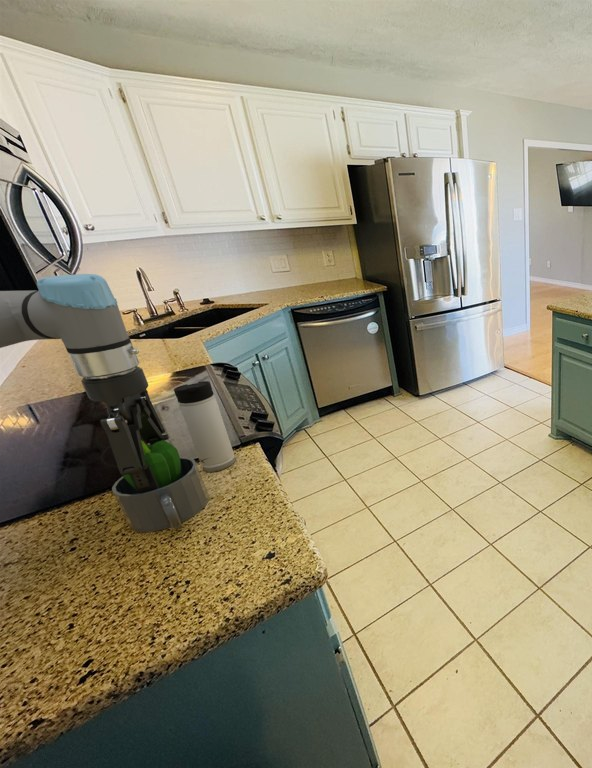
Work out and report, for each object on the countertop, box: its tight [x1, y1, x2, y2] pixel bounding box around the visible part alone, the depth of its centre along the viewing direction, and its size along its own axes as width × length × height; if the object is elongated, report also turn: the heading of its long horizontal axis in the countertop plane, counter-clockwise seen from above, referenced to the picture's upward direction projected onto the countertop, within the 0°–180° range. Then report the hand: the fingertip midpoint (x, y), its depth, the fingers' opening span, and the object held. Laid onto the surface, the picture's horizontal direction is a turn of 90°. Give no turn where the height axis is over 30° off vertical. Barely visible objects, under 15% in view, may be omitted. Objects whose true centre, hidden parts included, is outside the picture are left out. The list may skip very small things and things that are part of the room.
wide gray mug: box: [111, 456, 210, 533], centre depth 75 cm, size 16×12×8 cm
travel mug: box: [173, 380, 236, 473], centre depth 88 cm, size 6×7×20 cm
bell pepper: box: [116, 439, 181, 490], centre depth 74 cm, size 8×8×10 cm
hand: (160, 485), depth 76 cm, fingers closed on bell pepper, 8 cm apart
